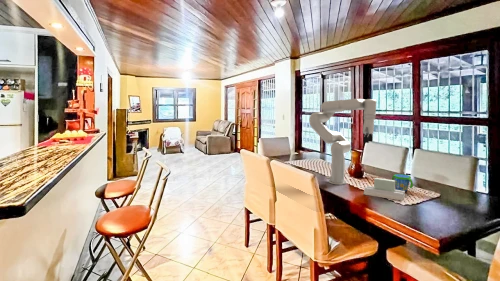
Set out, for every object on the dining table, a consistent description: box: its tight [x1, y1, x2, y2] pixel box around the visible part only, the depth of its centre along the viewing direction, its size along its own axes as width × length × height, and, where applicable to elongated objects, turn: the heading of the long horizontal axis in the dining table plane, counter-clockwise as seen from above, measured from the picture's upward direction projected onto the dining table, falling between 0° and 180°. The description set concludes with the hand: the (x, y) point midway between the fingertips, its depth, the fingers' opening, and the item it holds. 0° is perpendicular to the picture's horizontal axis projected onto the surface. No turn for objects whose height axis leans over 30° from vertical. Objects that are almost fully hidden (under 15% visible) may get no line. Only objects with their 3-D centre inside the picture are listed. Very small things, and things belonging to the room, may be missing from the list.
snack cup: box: [391, 173, 414, 192], centre depth 207 cm, size 16×10×10 cm
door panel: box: [373, 177, 396, 192], centre depth 194 cm, size 12×3×9 cm, turn 54°
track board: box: [363, 185, 406, 201], centre depth 194 cm, size 23×10×4 cm, turn 55°
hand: (368, 142), depth 208 cm, fingers open, 9 cm apart
